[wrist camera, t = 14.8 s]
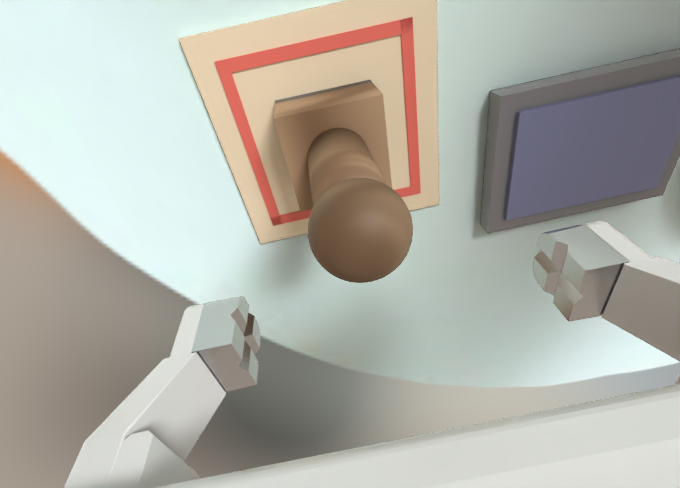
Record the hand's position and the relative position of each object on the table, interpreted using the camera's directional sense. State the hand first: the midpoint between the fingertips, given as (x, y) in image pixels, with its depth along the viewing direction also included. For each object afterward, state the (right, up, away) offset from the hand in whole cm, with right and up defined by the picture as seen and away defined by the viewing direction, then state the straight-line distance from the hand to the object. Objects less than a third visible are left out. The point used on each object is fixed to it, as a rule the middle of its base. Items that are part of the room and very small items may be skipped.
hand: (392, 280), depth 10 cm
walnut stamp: (-2, +7, +10) cm, 12 cm away
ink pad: (+13, +7, +12) cm, 20 cm away
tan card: (-2, +7, +10) cm, 12 cm away
